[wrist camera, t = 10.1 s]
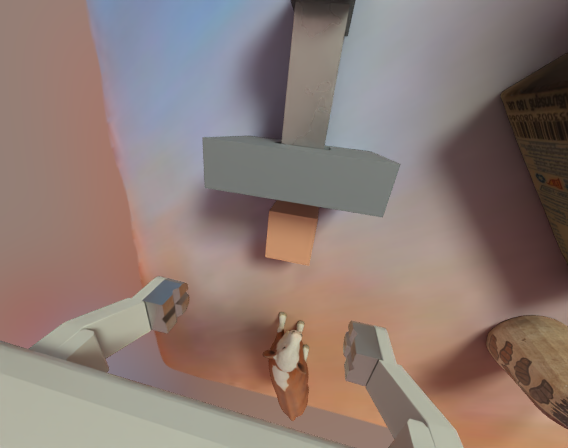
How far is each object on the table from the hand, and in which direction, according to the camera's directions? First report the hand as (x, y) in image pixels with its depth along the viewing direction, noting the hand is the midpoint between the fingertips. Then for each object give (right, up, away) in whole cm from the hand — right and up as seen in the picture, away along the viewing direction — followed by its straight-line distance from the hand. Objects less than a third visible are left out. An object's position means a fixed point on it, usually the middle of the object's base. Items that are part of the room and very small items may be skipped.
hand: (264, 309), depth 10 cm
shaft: (+3, +14, +7) cm, 16 cm away
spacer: (+2, +5, +12) cm, 13 cm away
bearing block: (+3, +10, +9) cm, 14 cm away
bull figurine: (+2, -10, +18) cm, 21 cm away
